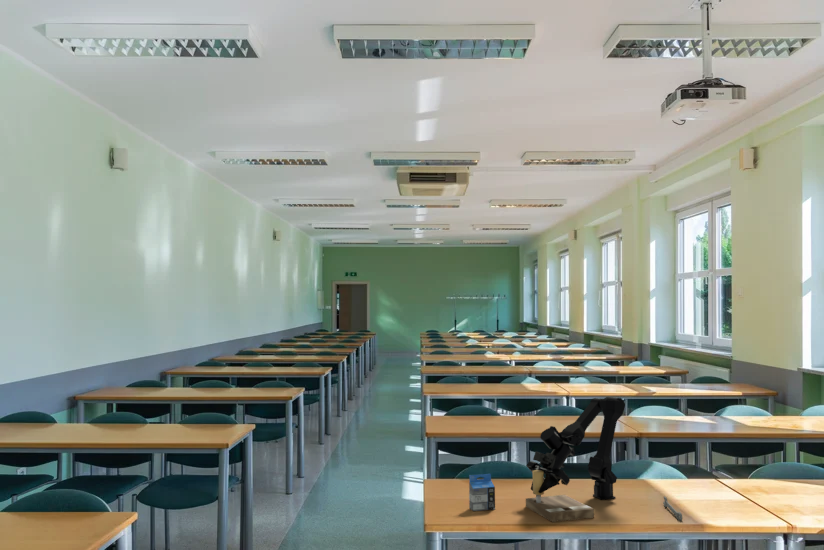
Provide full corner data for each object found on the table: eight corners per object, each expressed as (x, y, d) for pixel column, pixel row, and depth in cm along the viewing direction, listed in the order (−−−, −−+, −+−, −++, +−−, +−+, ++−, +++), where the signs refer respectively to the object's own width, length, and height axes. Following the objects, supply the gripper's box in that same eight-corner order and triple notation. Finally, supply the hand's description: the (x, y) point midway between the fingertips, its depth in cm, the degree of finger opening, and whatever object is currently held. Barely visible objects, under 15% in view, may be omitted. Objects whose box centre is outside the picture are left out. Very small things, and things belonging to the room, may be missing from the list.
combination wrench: (682, 512, 234) (666, 495, 254) (678, 512, 234) (662, 495, 254) (682, 523, 234) (666, 505, 254) (678, 523, 234) (662, 505, 254)
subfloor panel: (565, 502, 258) (564, 494, 258) (594, 517, 238) (593, 508, 239) (525, 506, 253) (525, 498, 253) (552, 522, 234) (551, 513, 234)
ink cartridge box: (472, 511, 247) (472, 477, 248) (469, 508, 251) (468, 475, 252) (495, 509, 250) (494, 475, 250) (491, 506, 253) (490, 473, 254)
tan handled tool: (541, 508, 251) (540, 469, 251) (546, 511, 247) (545, 472, 248) (531, 509, 249) (530, 470, 250) (536, 512, 246) (535, 473, 246)
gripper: (529, 439, 260) (507, 472, 254) (562, 447, 243) (539, 482, 237) (546, 458, 263) (524, 490, 257) (579, 467, 247) (557, 502, 241)
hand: (535, 491), depth 248 cm, fingers closed on tan handled tool, 4 cm apart
